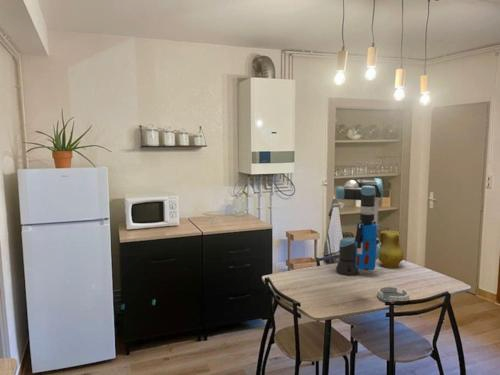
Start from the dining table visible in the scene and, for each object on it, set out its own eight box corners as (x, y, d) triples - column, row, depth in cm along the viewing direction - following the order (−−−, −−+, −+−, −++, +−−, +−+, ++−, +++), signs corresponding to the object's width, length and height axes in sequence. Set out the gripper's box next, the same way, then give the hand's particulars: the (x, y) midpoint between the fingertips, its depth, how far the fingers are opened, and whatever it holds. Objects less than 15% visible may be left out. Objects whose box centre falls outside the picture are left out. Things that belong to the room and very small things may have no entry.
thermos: (376, 271, 212) (377, 226, 210) (355, 269, 215) (357, 225, 212) (374, 265, 223) (376, 222, 220) (355, 264, 225) (356, 221, 222)
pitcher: (379, 268, 270) (381, 232, 268) (375, 261, 288) (377, 228, 287) (405, 270, 267) (407, 234, 265) (399, 263, 285) (401, 230, 284)
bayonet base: (371, 297, 219) (371, 291, 218) (387, 290, 230) (387, 284, 229) (399, 307, 206) (399, 300, 205) (415, 299, 217) (415, 292, 216)
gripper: (360, 216, 205) (359, 257, 208) (384, 212, 220) (383, 249, 222) (348, 214, 211) (347, 254, 213) (373, 210, 226) (372, 247, 228)
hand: (365, 252), depth 218 cm, fingers closed on thermos, 11 cm apart
